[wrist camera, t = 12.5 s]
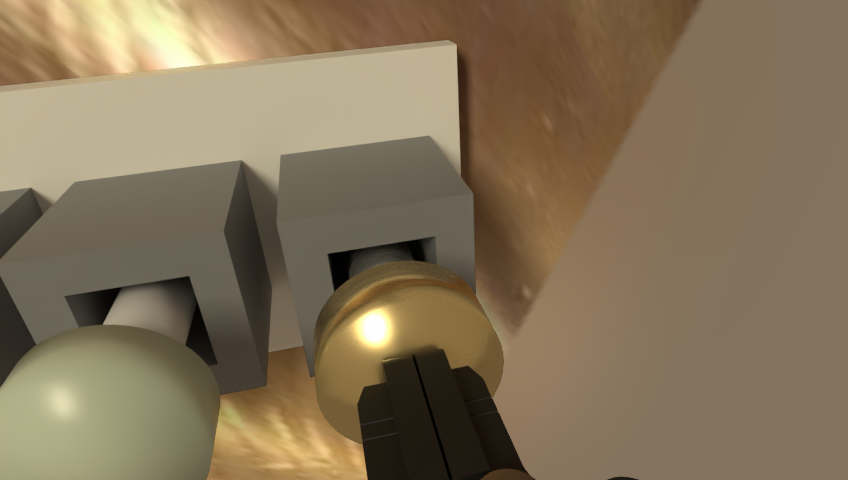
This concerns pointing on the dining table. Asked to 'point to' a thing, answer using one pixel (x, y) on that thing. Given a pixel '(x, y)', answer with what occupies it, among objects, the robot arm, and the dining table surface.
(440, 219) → the socket board
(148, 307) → the sage plug
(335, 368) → the brass plug
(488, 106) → the dining table surface
